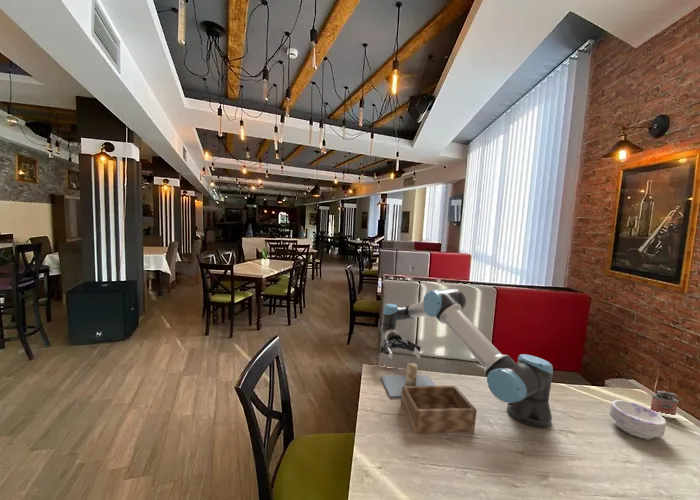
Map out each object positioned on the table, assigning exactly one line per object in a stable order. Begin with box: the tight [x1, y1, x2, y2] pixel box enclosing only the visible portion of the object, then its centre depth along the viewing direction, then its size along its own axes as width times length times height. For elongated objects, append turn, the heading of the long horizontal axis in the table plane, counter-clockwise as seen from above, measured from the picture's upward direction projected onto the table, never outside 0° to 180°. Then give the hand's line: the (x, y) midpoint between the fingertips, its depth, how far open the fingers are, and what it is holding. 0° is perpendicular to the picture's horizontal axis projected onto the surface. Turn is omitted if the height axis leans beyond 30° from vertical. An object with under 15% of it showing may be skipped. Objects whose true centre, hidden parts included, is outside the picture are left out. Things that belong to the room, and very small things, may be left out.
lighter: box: [650, 390, 679, 416], centre depth 128 cm, size 8×3×10 cm, turn 68°
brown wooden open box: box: [400, 385, 477, 434], centre depth 117 cm, size 22×16×8 cm
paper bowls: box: [609, 399, 667, 440], centre depth 117 cm, size 15×15×8 cm
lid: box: [380, 362, 437, 399], centre depth 137 cm, size 23×17×10 cm
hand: (405, 356), depth 146 cm, fingers open, 13 cm apart
